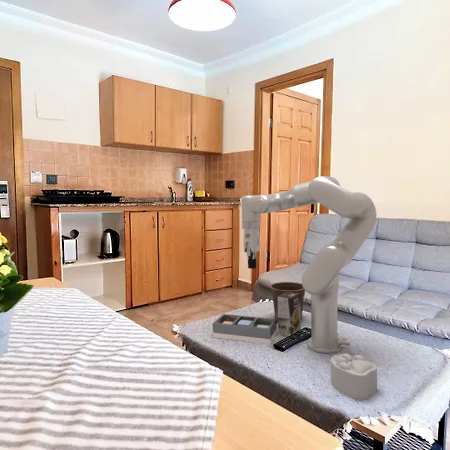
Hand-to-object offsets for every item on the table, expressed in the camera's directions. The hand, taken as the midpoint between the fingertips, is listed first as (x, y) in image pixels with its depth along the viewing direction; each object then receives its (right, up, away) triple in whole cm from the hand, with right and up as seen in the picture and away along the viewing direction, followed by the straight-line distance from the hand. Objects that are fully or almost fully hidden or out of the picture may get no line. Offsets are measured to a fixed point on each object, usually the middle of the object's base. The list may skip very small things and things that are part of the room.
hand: (252, 268), depth 148 cm
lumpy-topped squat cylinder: (+26, -30, -44) cm, 59 cm away
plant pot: (+18, -26, +13) cm, 34 cm away
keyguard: (-3, -26, -3) cm, 26 cm away
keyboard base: (-3, -28, -3) cm, 28 cm away
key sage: (+4, -26, -5) cm, 27 cm away
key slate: (-3, -25, -3) cm, 25 cm away
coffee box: (+16, -27, -1) cm, 31 cm away
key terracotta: (-10, -26, 0) cm, 28 cm away
